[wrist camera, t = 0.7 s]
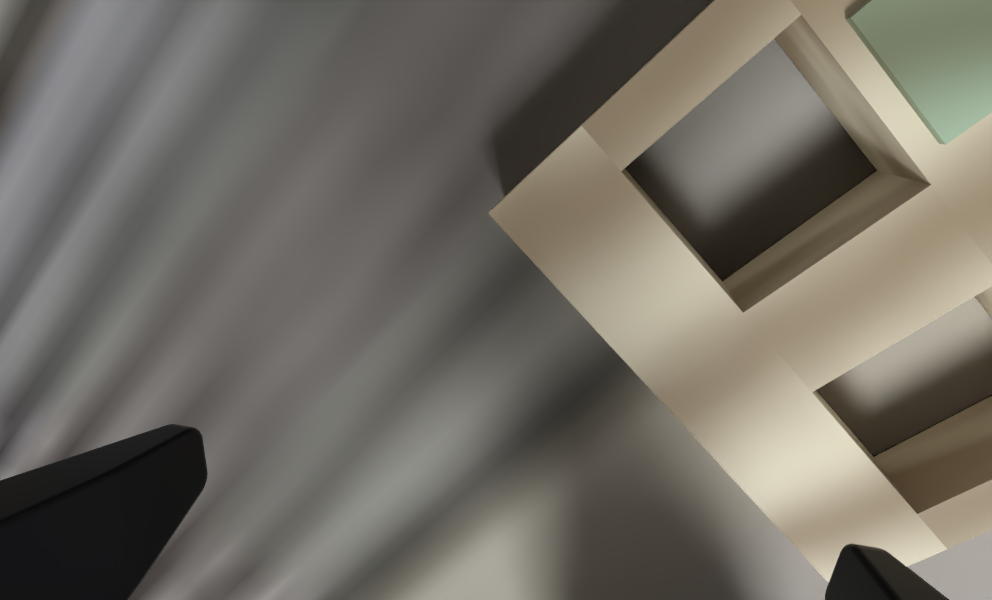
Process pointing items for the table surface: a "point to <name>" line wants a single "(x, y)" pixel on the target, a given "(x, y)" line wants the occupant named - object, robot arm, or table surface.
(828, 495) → the socket block
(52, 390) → the table surface
